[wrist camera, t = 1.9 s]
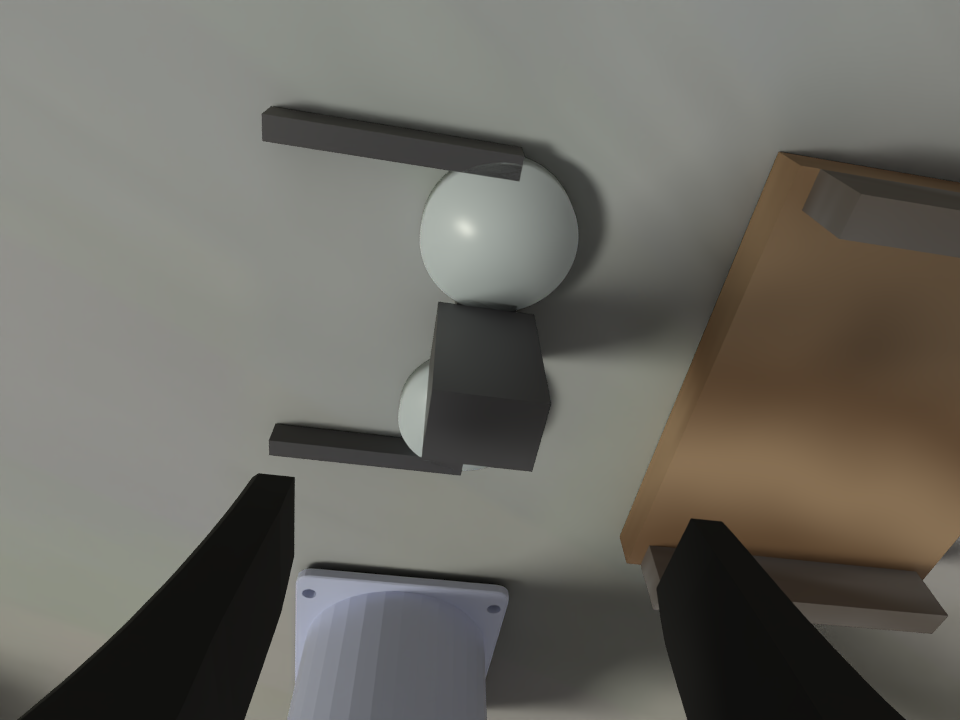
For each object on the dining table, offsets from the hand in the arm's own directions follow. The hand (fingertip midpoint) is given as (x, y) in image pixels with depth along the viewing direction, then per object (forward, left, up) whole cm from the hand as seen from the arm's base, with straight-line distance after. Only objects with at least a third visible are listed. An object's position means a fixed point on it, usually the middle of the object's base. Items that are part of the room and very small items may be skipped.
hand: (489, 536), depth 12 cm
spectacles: (0, +2, -8) cm, 8 cm away
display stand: (-1, -12, -8) cm, 14 cm away
